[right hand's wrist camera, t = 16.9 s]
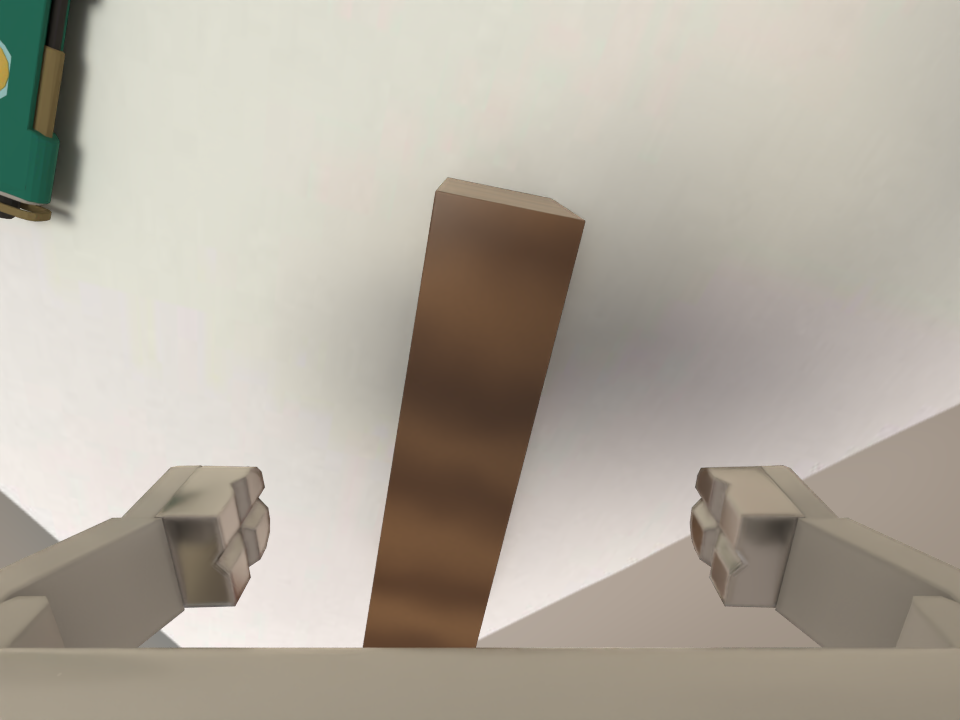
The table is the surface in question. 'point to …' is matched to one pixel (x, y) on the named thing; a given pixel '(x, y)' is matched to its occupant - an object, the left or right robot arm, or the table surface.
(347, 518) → the table surface
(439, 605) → the box
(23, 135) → the spray gun
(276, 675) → the right robot arm
